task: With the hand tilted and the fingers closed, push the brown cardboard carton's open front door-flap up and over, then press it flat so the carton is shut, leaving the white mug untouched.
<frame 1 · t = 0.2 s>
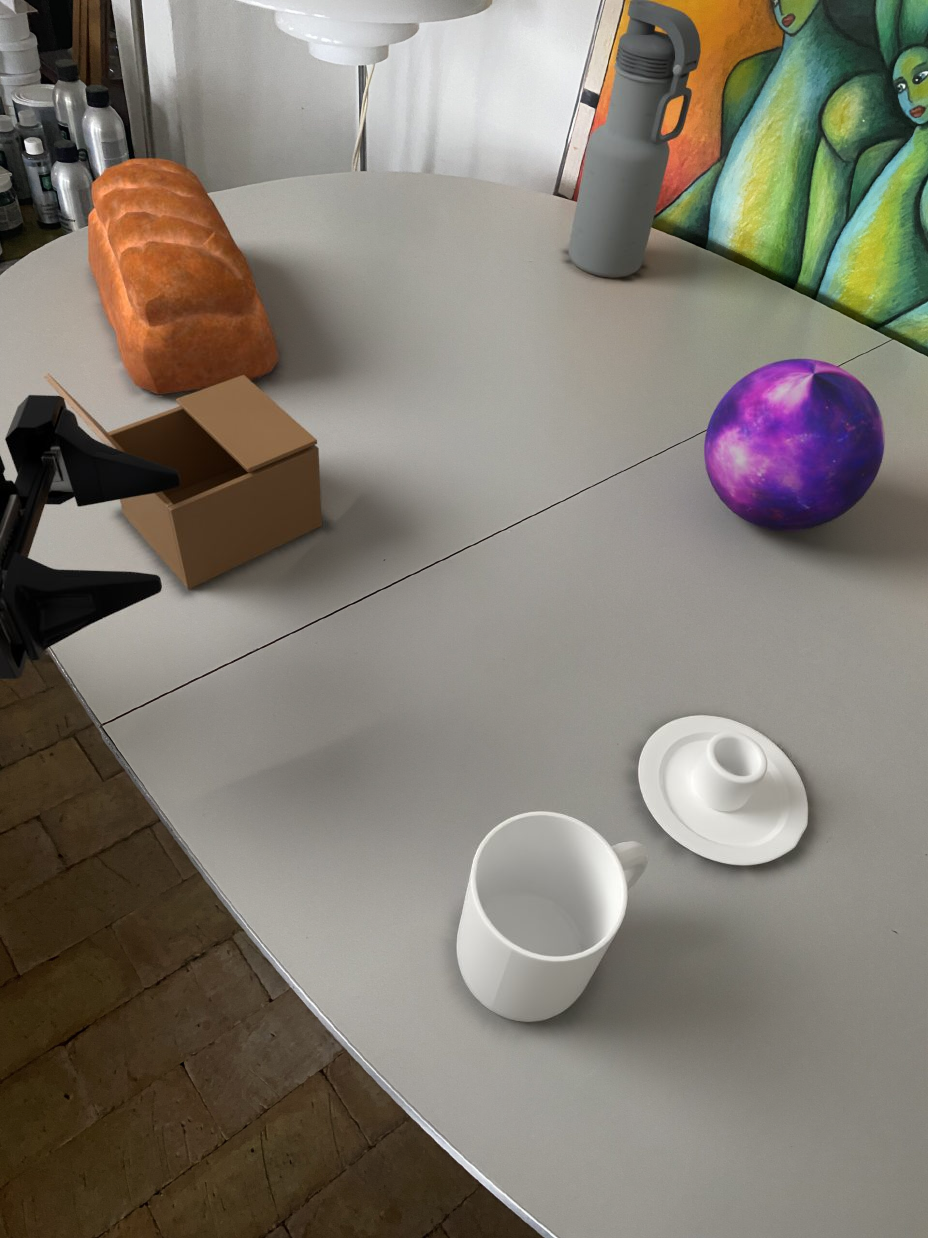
hand: (170, 528, 53), 16 cm above the table, tool horizontal, fingers open, 9 cm apart
mug: (547, 941, 54), on the table
decorative orb: (761, 511, 83), on the table
bread: (181, 315, 97), on the table
water bottle: (605, 263, 114), on the table
carton: (223, 520, 76), on the table
flap: (107, 439, 63), point 12 cm above the table, hinge at 115.0°
candle holder: (718, 792, 62), on the table
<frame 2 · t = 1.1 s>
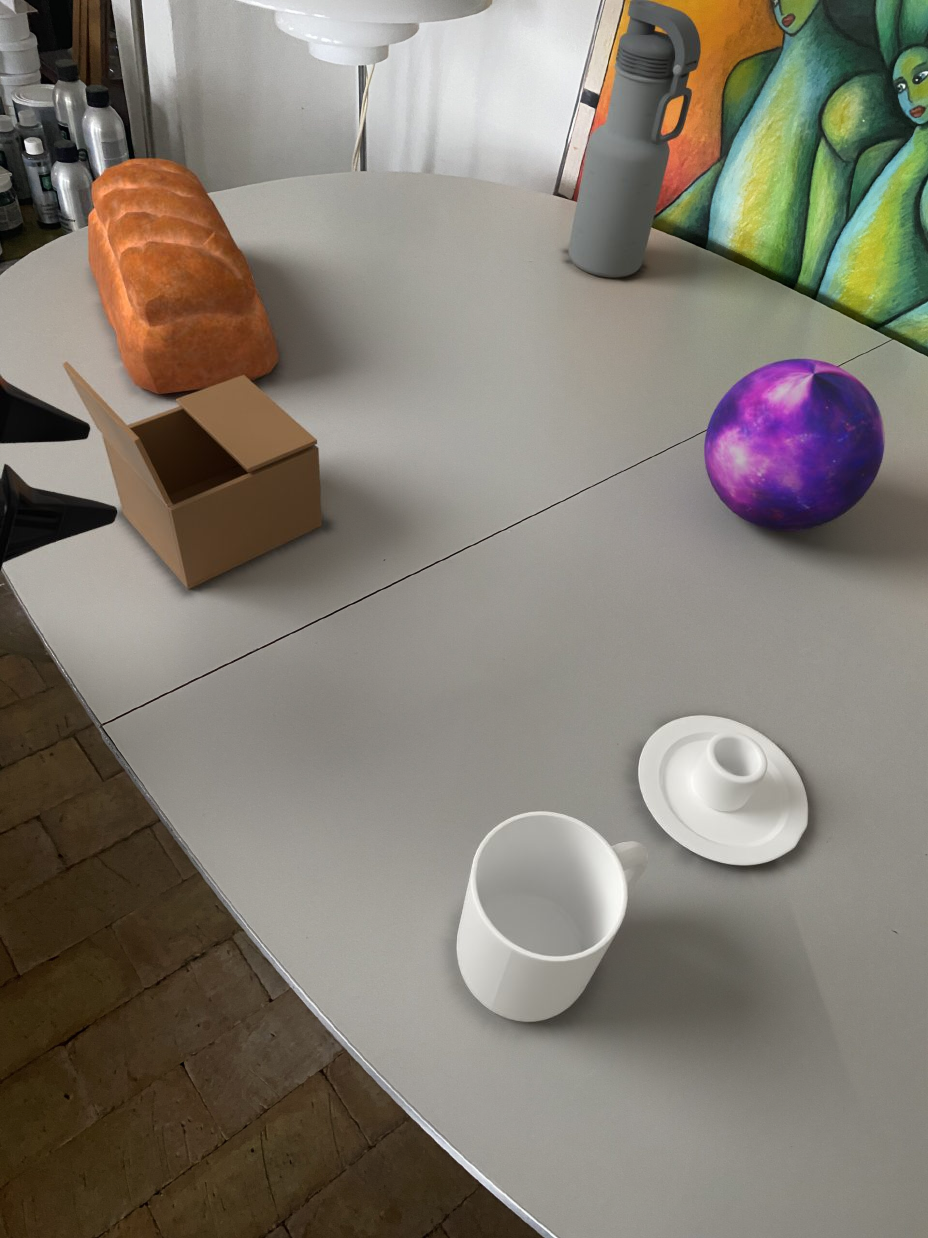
hand: (101, 471, 57), 14 cm above the table, tool tilted 65°, fingers open, 9 cm apart
flap: (116, 433, 63), point 12 cm above the table, hinge at 101.0°
everything else where it was.
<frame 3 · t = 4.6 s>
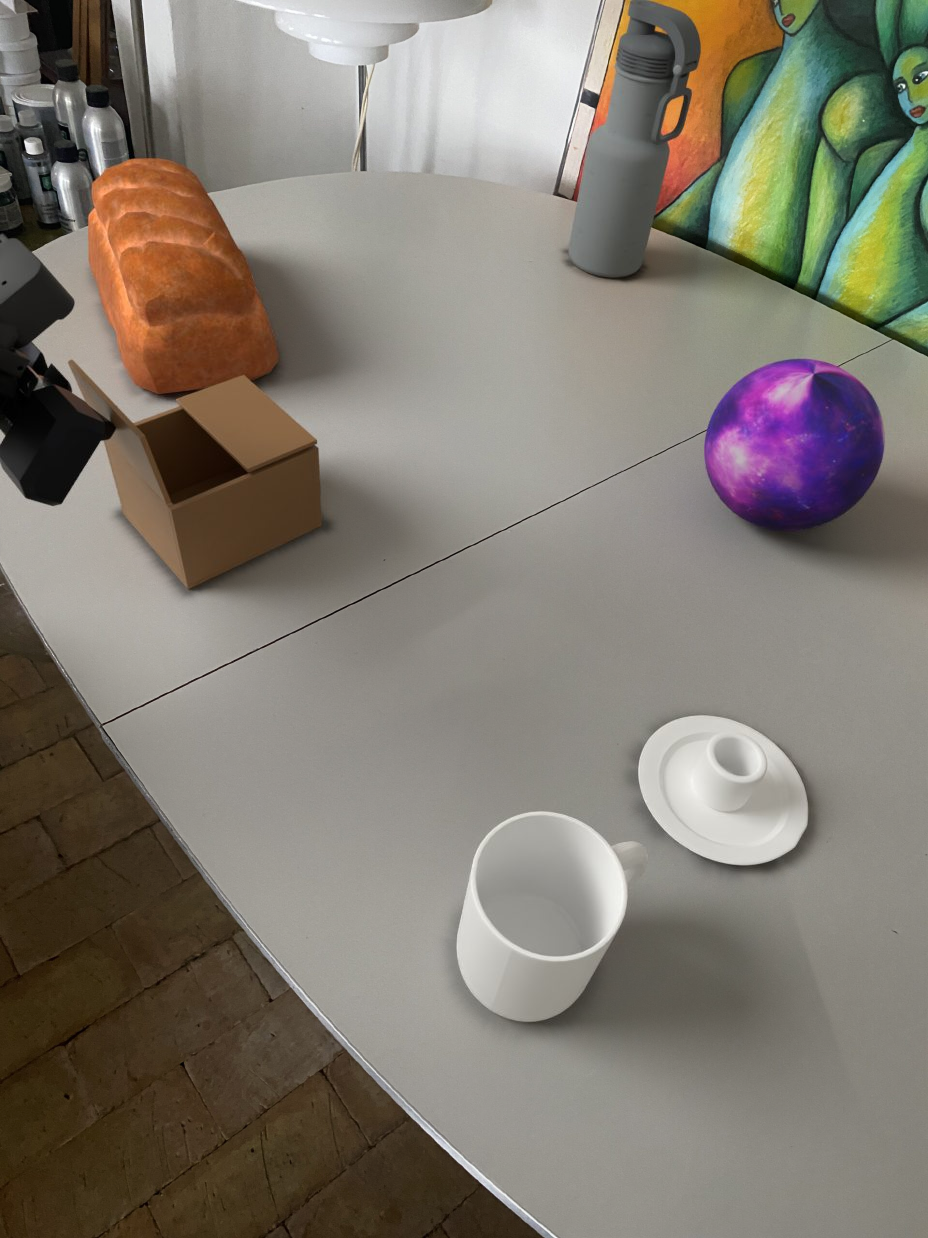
hand: (111, 431, 63), 13 cm above the table, tool tilted 45°, fingers closed, pressing on flap
flap: (119, 431, 63), point 12 cm above the table, hinge at 97.2°, touching gripper
everything else where it was.
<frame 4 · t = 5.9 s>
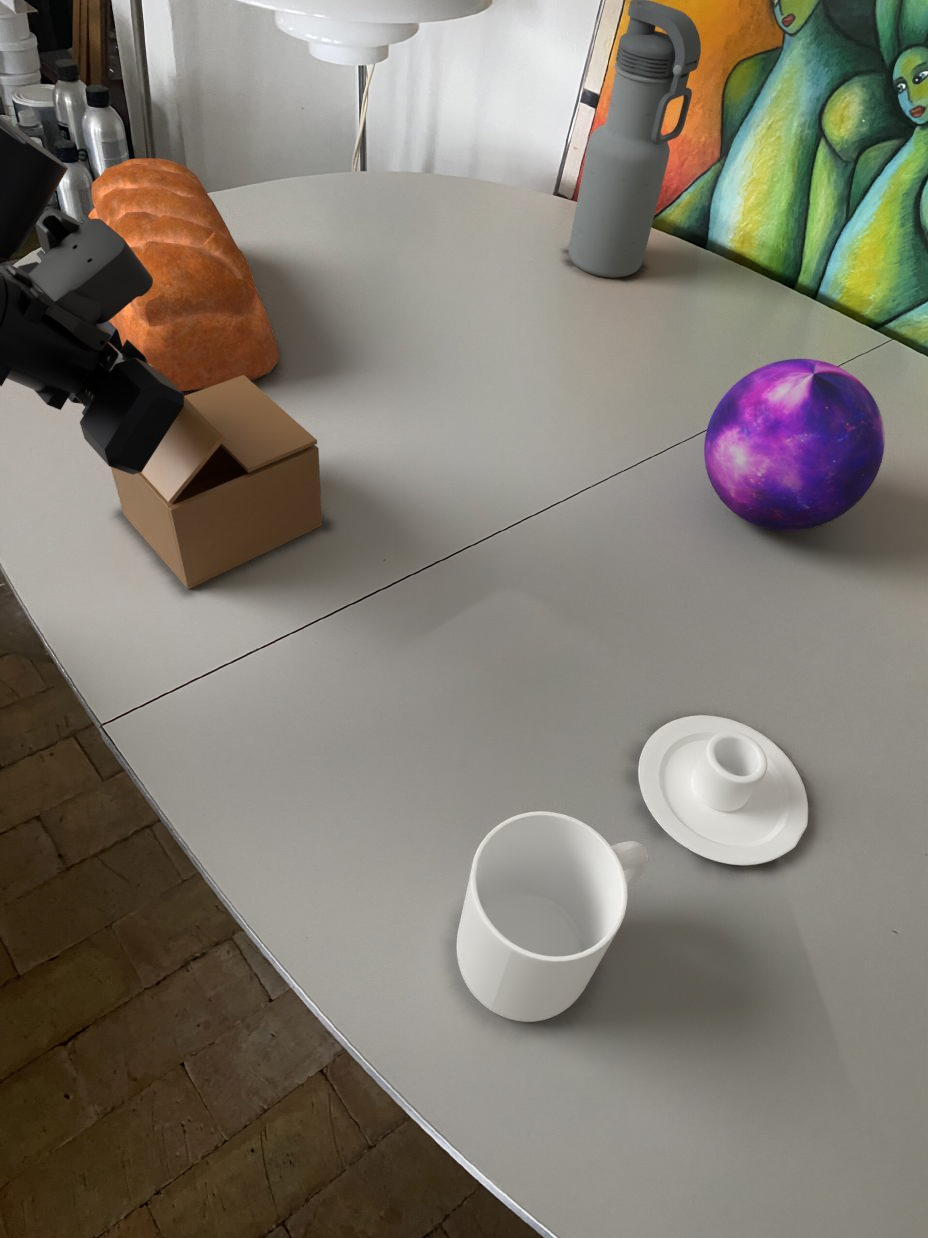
hand: (176, 407, 65), 13 cm above the table, tool tilted 45°, fingers closed, pressing on flap
flap: (160, 431, 66), point 11 cm above the table, hinge at 37.4°, touching gripper
everything else where it was.
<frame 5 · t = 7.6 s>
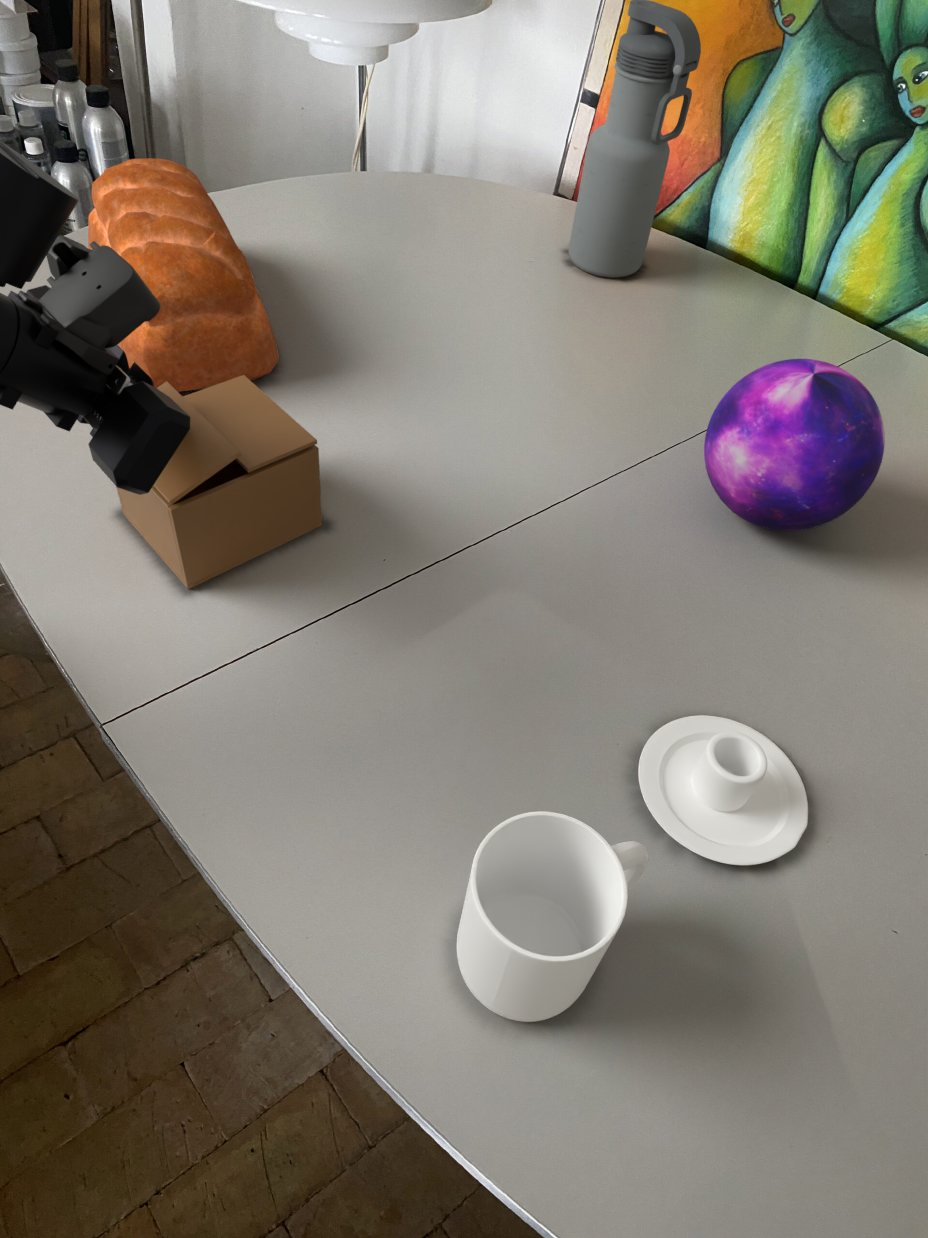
hand: (181, 426, 67), 11 cm above the table, tool tilted 45°, fingers closed
flap: (168, 440, 67), point 10 cm above the table, hinge at 17.0°
everything else where it was.
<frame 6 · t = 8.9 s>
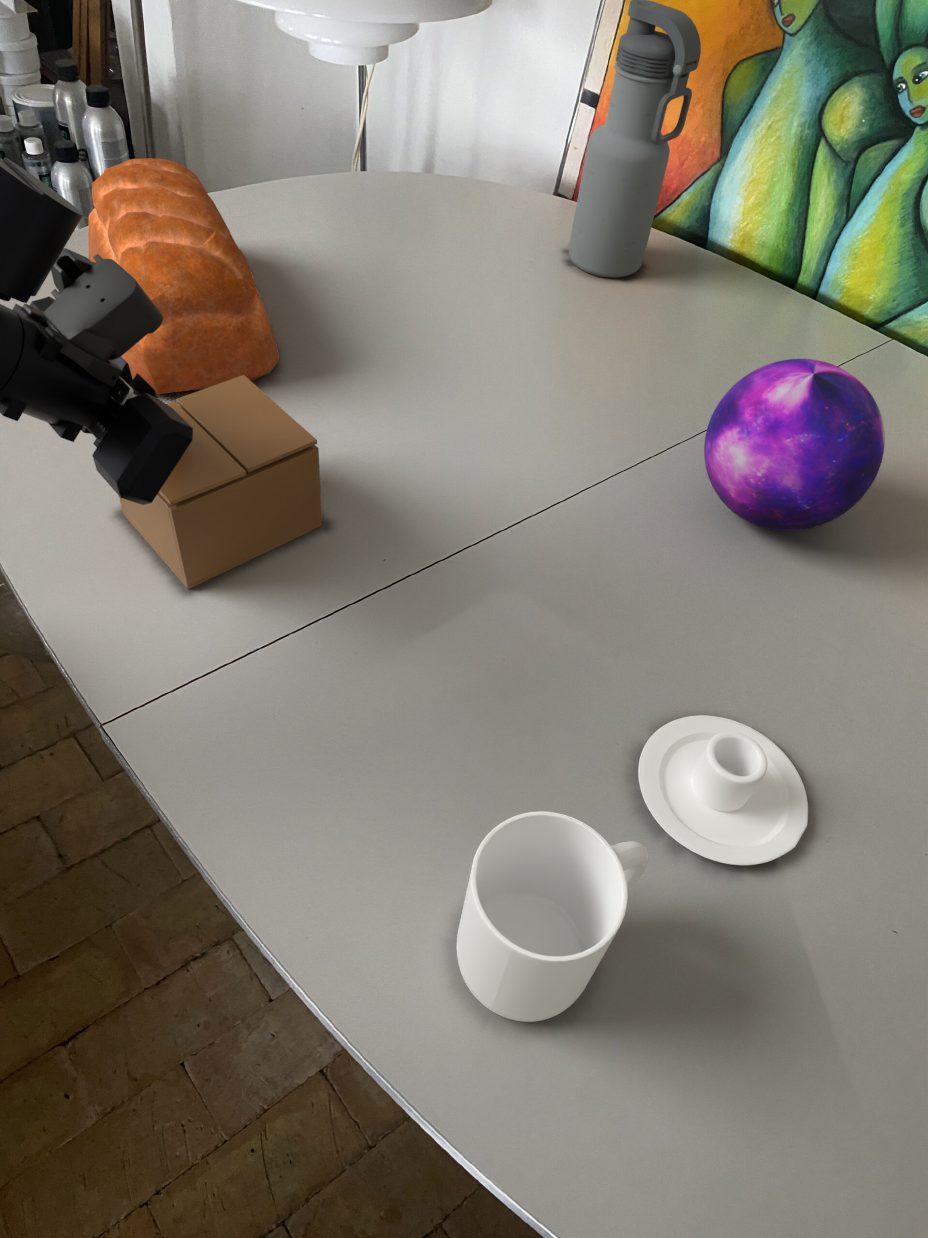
hand: (184, 435, 67), 10 cm above the table, tool tilted 45°, fingers closed
flap: (172, 450, 67), point 9 cm above the table, hinge at -1.2°
everything else where it was.
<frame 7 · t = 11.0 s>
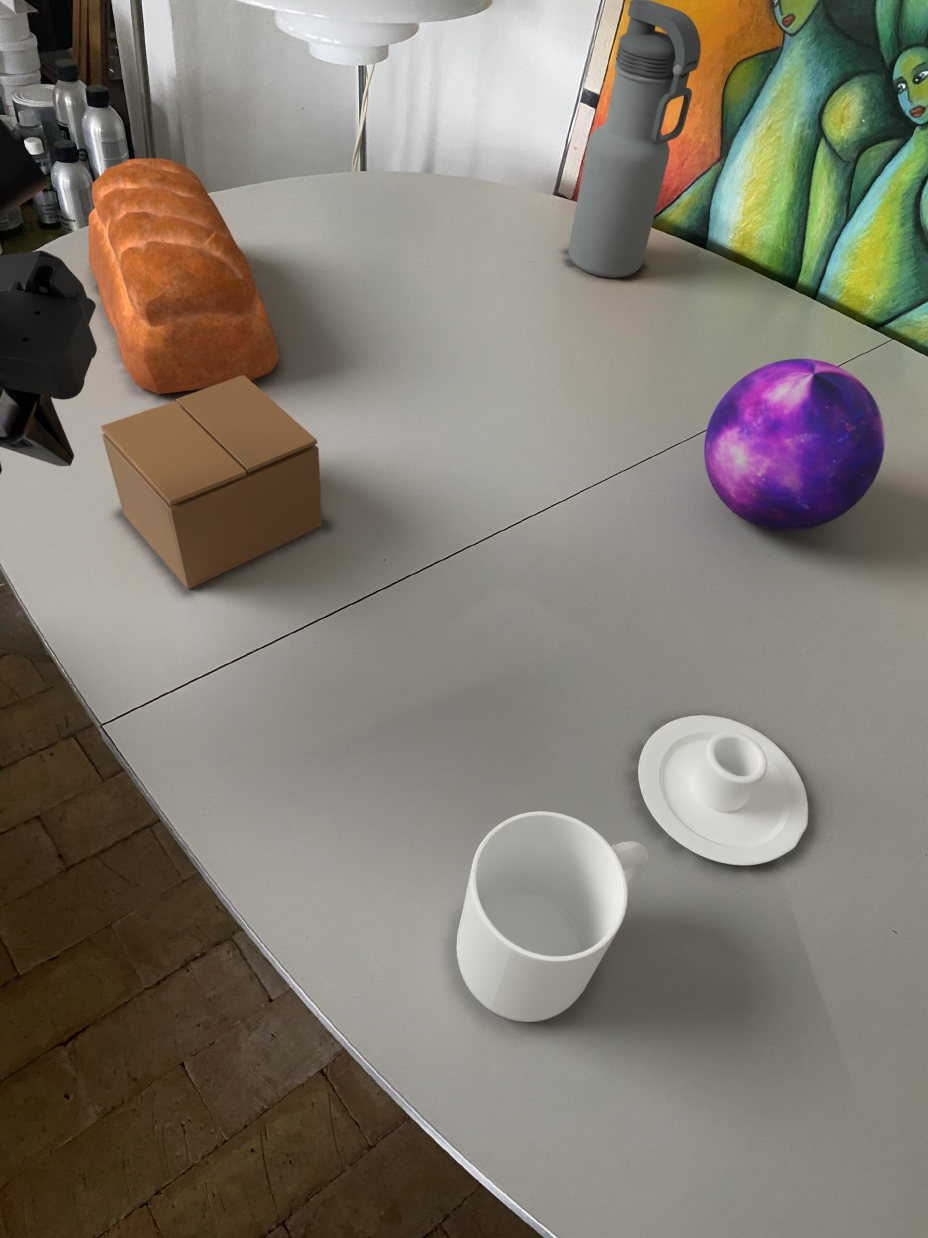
hand: (67, 461, 60), 12 cm above the table, tool tilted 25°, fingers closed
nothing on the table moved.
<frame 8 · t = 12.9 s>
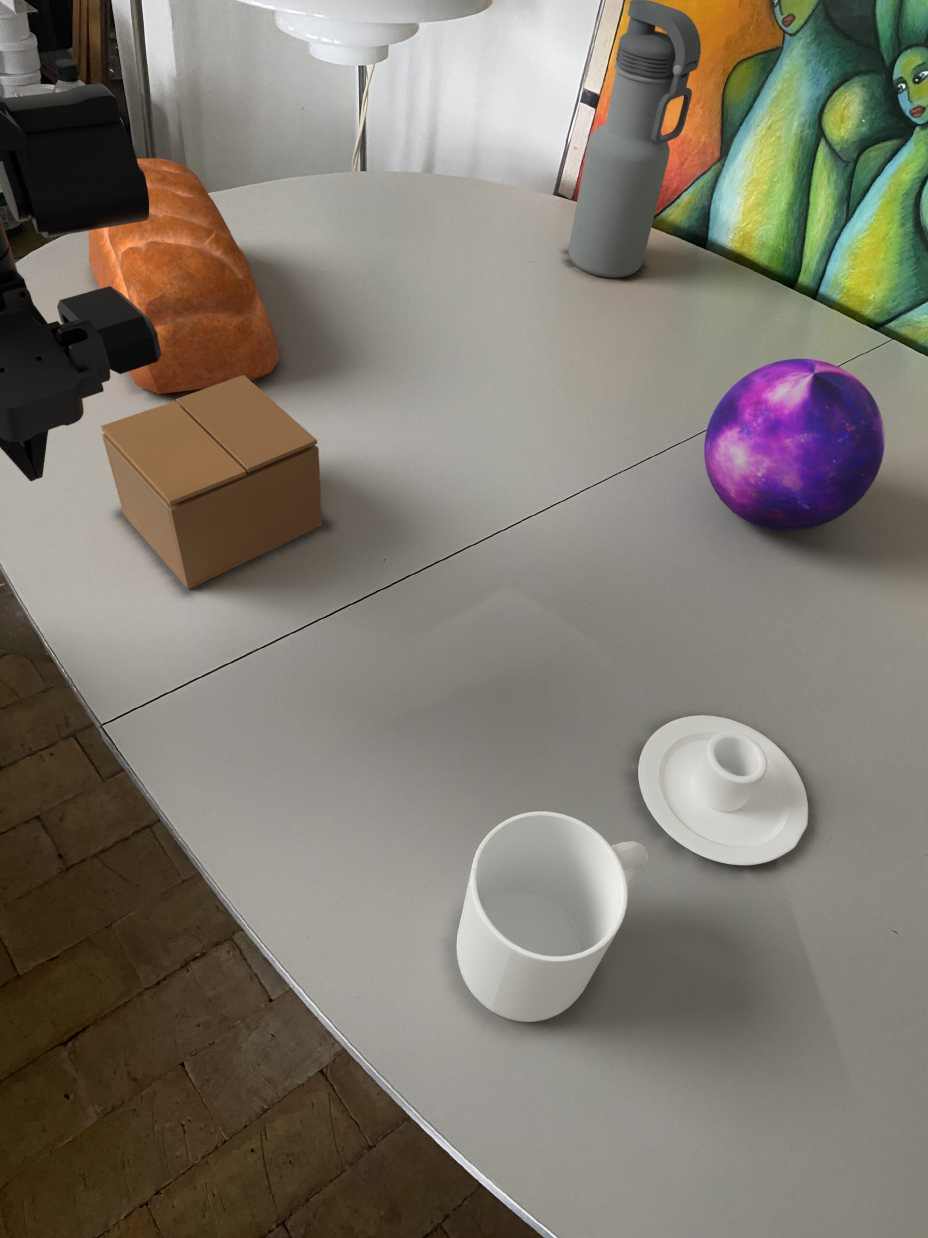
hand: (33, 476, 58), 13 cm above the table, tool pointing down, fingers closed
nothing on the table moved.
at the end: flap at -1° (first picture: +115°); mug moved 0.2 cm from its start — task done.
